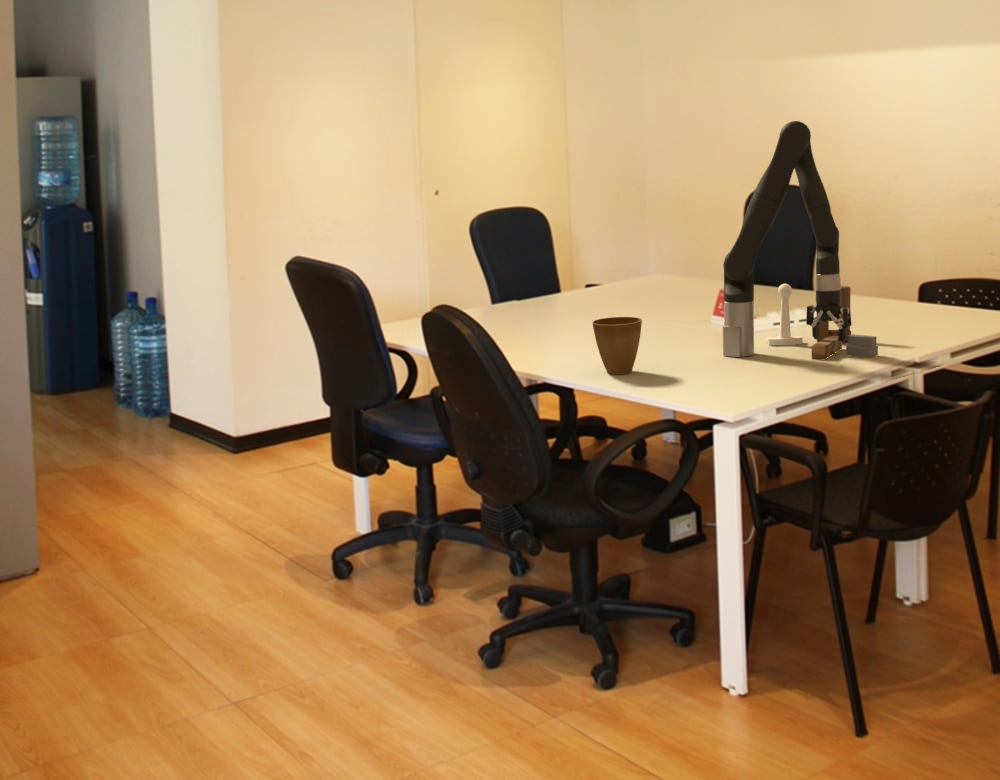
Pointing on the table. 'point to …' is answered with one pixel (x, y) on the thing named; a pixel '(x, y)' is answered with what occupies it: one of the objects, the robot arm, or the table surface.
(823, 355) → the walnut bar
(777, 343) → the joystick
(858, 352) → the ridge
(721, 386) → the table surface
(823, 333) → the brown rod with wedge
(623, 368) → the plant pot
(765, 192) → the robot arm
